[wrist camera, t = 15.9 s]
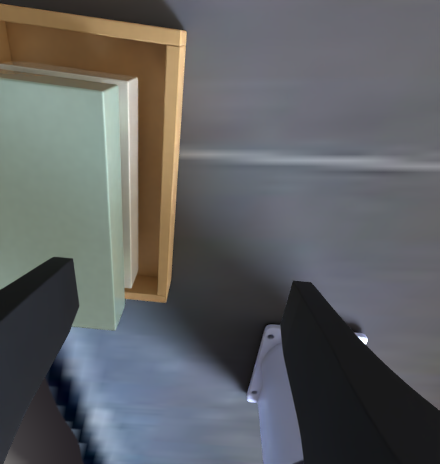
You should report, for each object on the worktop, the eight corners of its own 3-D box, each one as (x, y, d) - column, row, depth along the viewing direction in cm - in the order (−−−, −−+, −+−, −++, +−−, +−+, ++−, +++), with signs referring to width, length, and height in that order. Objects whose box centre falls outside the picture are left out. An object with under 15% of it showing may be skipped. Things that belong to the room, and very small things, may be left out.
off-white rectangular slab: (143, 257, 22) (131, 289, 19) (62, 248, 21) (39, 279, 19) (144, 73, 16) (128, 81, 13) (36, 58, 16) (-4, 63, 13)
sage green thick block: (131, 288, 19) (115, 331, 16) (39, 279, 19) (6, 321, 16) (128, 80, 13) (103, 91, 11) (-4, 62, 13) (-65, 68, 10)
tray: (171, 280, 23) (166, 303, 21) (44, 267, 23) (27, 289, 21) (186, 31, 16) (181, 29, 14) (-5, 3, 15) (-39, -3, 13)
